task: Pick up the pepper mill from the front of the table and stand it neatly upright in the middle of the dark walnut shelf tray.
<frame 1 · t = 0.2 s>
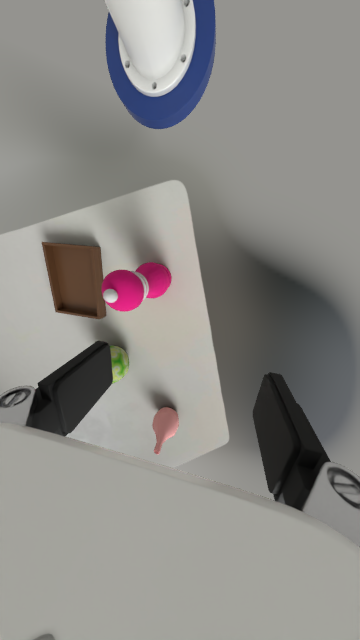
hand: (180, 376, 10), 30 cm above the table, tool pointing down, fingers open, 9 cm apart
shelf tray: (80, 281, 44), on the table
pepper mill: (158, 278, 40), on the table
decorative ball: (120, 353, 50), on the table
pink bulb vase: (169, 411, 54), on the table
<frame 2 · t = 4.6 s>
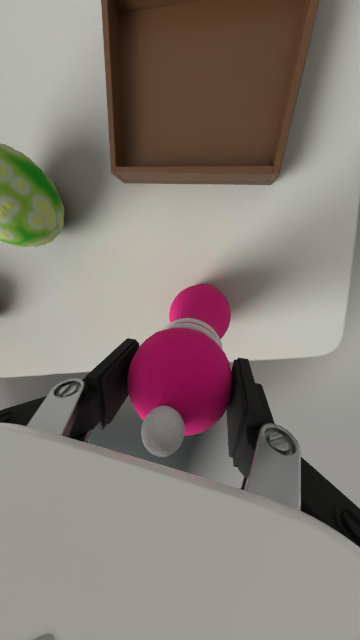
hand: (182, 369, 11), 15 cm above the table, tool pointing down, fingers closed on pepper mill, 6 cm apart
shelf tray: (198, 105, 17), on the table
pepper mill: (202, 305, 25), on the table, touching gripper
decorative ball: (53, 211, 25), on the table
when the fingers open (16 cm above the table, at t = 12.4 s): pepper mill stays where it is, resting on shelf tray.
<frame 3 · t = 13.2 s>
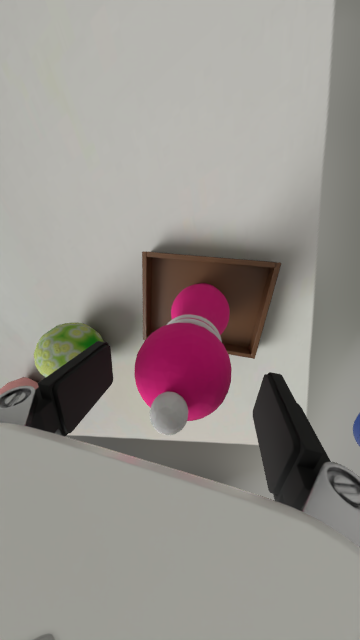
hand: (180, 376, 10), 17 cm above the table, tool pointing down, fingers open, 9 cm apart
shelf tray: (202, 302, 26), on the table
pepper mill: (202, 303, 26), point 1 cm above the table, touching shelf tray
decorative ball: (94, 338, 33), on the table
pink bulb vase: (36, 384, 42), on the table
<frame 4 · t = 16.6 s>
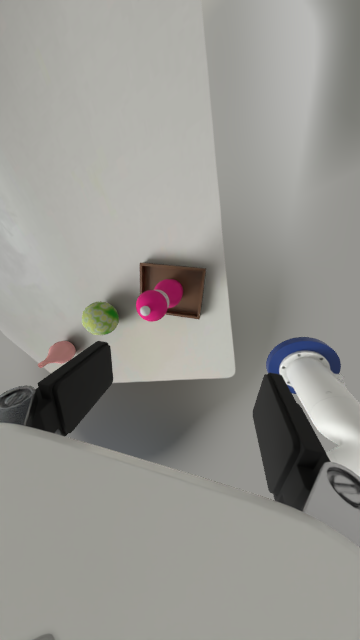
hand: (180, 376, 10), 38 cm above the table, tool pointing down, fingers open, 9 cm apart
shelf tray: (172, 289, 48), on the table
pepper mill: (172, 290, 47), point 1 cm above the table, touching shelf tray
decorative ball: (111, 313, 55), on the table
pink bulb vase: (71, 346, 64), on the table
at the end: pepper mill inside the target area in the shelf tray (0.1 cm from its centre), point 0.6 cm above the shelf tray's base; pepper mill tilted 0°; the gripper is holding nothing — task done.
